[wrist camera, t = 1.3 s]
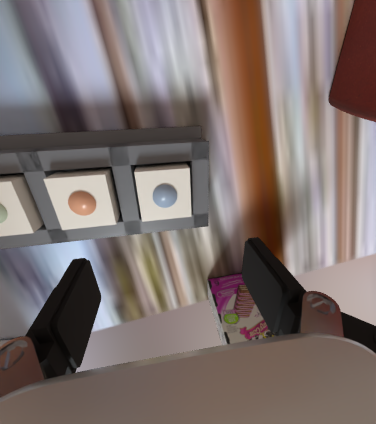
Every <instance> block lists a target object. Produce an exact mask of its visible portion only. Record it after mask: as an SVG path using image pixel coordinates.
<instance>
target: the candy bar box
mask: <svg viewBox="0 0 376 424" xmlns="http://www.w3.org/2000/svg"><path fill="white" fill-rule="evenodd" d="M207 283H208V298H209V302H210V305H211V308H212V312H213V315H214V319H215V322H216V325H217V329H218V332H219V336H220V340H221V343H222V345H227V344H233V343H239V342H244V341H250V340H256V339H262V338H268V337H275V334H274V333H271V332H270V330H269V328H268V327H267V325H266V323H265V321H264V319H263V317H262V315H261V313H260V312H259V310H258V308H257V306H256V304H255V302H254V300H253V298H252V297H251V295H250V293H249V291H248V289H247V287H246V285H245V283H244V282H243V279H242V273H240V274H234V275H229V276H223V277H217V278H212V279H207Z"/></svg>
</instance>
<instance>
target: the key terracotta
mask: <svg viewBox="0 0 376 424" xmlns="http://www.w3.org/2000/svg"><path fill="white" fill-rule="evenodd" d="M43 180H44V182H45V185H46V188H47V190H48V193H49V196H50V198H51V201H52V204H53V207H54V209H55V212H56V215H57V217H58V220H59V223H60V225H61V228H62V230H68V229H78V228H88V227H97V226H107V225H116V224H117V221H118V219H119V216H120V209H119V204H118V200H117V195H116V190H115V185H114V181H113V176H112V171H111V168H106V169H92V170H78V171H64V172H56V173H54V174H52V175H50V176H48V177H46V178H44V179H43Z"/></svg>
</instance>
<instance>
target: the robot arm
mask: <svg viewBox="0 0 376 424" xmlns="http://www.w3.org/2000/svg"><path fill="white" fill-rule="evenodd" d="M242 279H243V282H244V283H245V285H246V287H247V289H248V291H249V293H250V295H251V297H252V298H253V300H254V302H255V304H256V306H257V308H258V310H259V312H260V313H261V315H262V317H263V319H264V321H265V323H266V325H267V327H268V328H269V330H270V332H271V333H274V334H275V337H268V338H262V339H256V340H250V341H244V342H239V343H233V344H227V345H222V346H216V347H211V348H205V349H199V350H194V351H188V352H183V353H177V354H171V355H166V356H160V357H156V358H150V359H144V360H139V361H134V362H128V363H123V364H117V365H112V366H107V367H101V368H96V369H91V370H87V371H82V372H77V373H75V372H76V369H77V368H78V367H80V365H81V363H82V360H83V357H84V354H85V350H86V347H87V344H88V341H89V337H90V334H91V331H92V328H93V324H94V321H95V318H96V315H97V311H98V308H99V305H100V302H101V293H100V290H99V287H98V284H97V281H96V278H95V275H94V272H93V269H92V266H91V263H90V261H89V260H86V259H85V258H80V259H74V260H72V262H71V263H70V265H69V267H68V268H67V270H66V272H65V273H64V275H63V277H62V278H61V280H60V282H59V283H58V285H57V287H55V288H54V290H53V291H52V293H51V294H50V296H49V298H48V299H47V301H46V303H45V304H44V306H43V308H42V309H41V311H40V313H39V314H38V316H37V317H36V319H35V321H34V322H33V324H32V326H31V327H30V329H29V331H28V332H27V334H26V336H21V337H17V338H14V339H12V340H0V424H376V326H374V325H372V324H369V323H367V322H364V321H362V320H360V319H357V318H355V317H353V316H350V315H348V314H345V313H343V312H341V311H340V308H339V305H338V304H337V303H336V302H335V301H334V300H333V299H332V298H331V297H329V296H328V295H326V294H324V293H321V292H317V291H309V292H306V290H304V288H303V287H302V286H301V285H300V284H299V283H298V281H297V280H296V279H295V278H294V277H293V275H292V274H291V273H290V272H289V271H288V270H287V269H286V267H285V266H284V265H283V264H282V263H281V262H280V261H279V259H277V258H276V257H275V256H274V255H273V254H272V252H271V251H270V250H269V249H268V248H267V247H266V246H265V244H264V243H263V242H262V241H261V240H260V239H259V238H258V237H256V238H249V239H248V241H246V242H245V248H244V257H243V267H242Z"/></svg>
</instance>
